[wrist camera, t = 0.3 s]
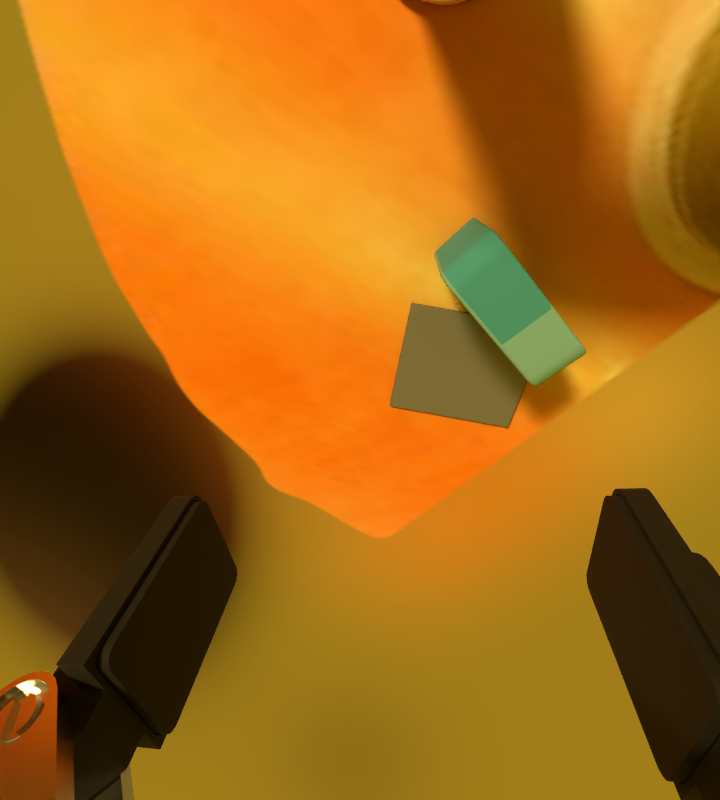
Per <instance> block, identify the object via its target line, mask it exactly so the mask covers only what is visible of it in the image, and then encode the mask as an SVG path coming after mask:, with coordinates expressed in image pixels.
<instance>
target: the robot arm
mask: <svg viewBox="0 0 720 800" xmlns="http://www.w3.org/2000/svg"><path fill="white" fill-rule="evenodd" d="M420 1H422V2H427V3H431V4H436V5H450V4H457V3H461V2H464V1H468V0H420ZM236 578H237V569H236V566H235V564H234V561H233V559H232V557H231V555H230V552H229V550H228V548H227V546H226V544H225V541H224V539H223V537H222V535H221V533H220V530H219V528H218V526H217V524H216V522H215V519H214V517H213V515H212V513H211V510H210V508H209V506H208V504H207V503H206V502H204V501H202V499H201V498H200V497H199V496H175V497H173V498H172V499H171V500H170V501H169V503H168V504H167V506H166V507H165V509H164V510H163V511H162V513H161V514H160V516H159V517H158V519H157V520H156V522H155V523H154V524H153V526H152V527H151V529H150V530H149V532H148V533H147V534H146V536H145V537H144V539H143V540H142V542H141V543H140V545H139V546H138V547H137V549H136V550H135V552H134V553H133V555H132V556H131V557H130V559H129V560H128V562H127V563H126V565H125V566H124V568H123V569H122V570H121V572H120V573H119V575H118V576H117V578H116V579H115V580H114V582H113V583H112V585H111V586H110V588H109V589H108V591H107V592H106V594H105V595H104V596H103V598H102V599H101V601H100V602H99V604H98V605H97V606H96V608H95V609H94V611H93V612H92V614H91V615H90V617H89V618H88V619H87V621H86V622H85V624H84V625H83V626H82V628H81V630H80V631H79V632H78V634H77V635H76V637H75V638H74V639H73V641H72V642H71V644H70V645H69V647H68V648H67V650H66V651H65V652H64V654H63V655H62V657H61V658H60V660H59V661H58V663H57V665H58V668H57V670H56V671H55V673H54V674H53V675H52V674H51V673H50V672H44V671H38V672H32V673H28V674H26V675H24V676H22V677H20V678H17V679H16V680H14V681H13V682H11V683H10V684H8V685H7V686H5V687H4V688H2V689H1V691H0V800H134V795H133V786H132V777H131V769H130V761H131V759H132V757H133V754H134V752H135V750H136V748H137V747H143V748H153V749H161V746H162V744H163V742H164V739H165V737H166V735H167V734H169V733H171V732H172V731H173V729H174V728H175V726H176V724H177V722H178V720H179V717H180V715H181V713H182V710H183V708H184V705H185V703H186V701H187V698H188V696H189V693H190V691H191V688H192V686H193V684H194V681H195V679H196V676H197V674H198V672H199V669H200V667H201V664H202V662H203V659H204V657H205V655H206V652H207V650H208V648H209V645H210V643H211V640H212V637H213V636H214V633H215V631H216V628H217V626H218V623H219V621H220V618H221V616H222V614H223V611H224V609H225V607H226V604H227V602H228V599H229V597H230V595H231V592H232V590H233V587H234V585H235V582H236ZM587 584H588V588H589V591H590V594H591V596H592V599H593V602H594V604H595V607H596V609H597V612H598V614H599V617H600V620H601V622H602V625H603V627H604V630H605V632H606V635H607V638H608V640H609V642H610V645H611V648H612V650H613V653H614V656H615V658H616V661H617V663H618V666H619V668H620V671H621V674H622V676H623V679H624V681H625V684H626V687H627V689H628V692H629V694H630V697H631V699H632V702H633V704H634V707H635V709H636V712H637V715H638V717H639V720H640V723H641V725H642V727H643V730H644V733H645V735H646V738H647V740H648V743H649V745H650V748H651V751H652V753H653V756H654V759H655V761H656V764H657V766H658V768H659V770H660V772H661V774H662V776H663V777H664V778H665V779H666V780H667V781H672V782H674V784H675V787H676V789H677V792H678V794H679V796H680V799H681V800H720V576H719V575H718V573H717V572H716V571H715V569H714V568H713V566H712V565H711V564H710V563H709V562H708V560H707V559H706V558H704V557H703V556H702V555H700V554H698V553H692V552H691V550H690V549H689V547H688V546H687V544H686V543H685V541H684V540H683V539H682V537H681V536H680V534H679V533H678V531H677V530H676V528H675V527H674V525H673V524H672V522H671V521H670V519H669V518H668V516H667V515H666V513H665V512H664V510H663V509H662V508H661V506H660V505H659V503H658V502H657V500H656V499H655V497H654V496H653V495H652V493H651V492H650V491H649V490H648V489H646V488H640V489H639V488H638V489H615V490H614V491H613V494H612V496H606V497H605V498H604V502H603V506H602V510H601V514H600V519H599V523H598V527H597V532H596V536H595V540H594V544H593V549H592V553H591V557H590V562H589V566H588V570H587Z"/></svg>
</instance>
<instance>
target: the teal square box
mask: <svg viewBox="0 0 720 800" xmlns="http://www.w3.org/2000/svg"><path fill="white" fill-rule="evenodd" d="M435 258H436V262H437V265H438V268H439V272H440V275H441V277H442V279H443V281H444V282H445V283H446V285H447V286H448V287H449V289H450V290H451V291H452V293H453V294H454V295H455V296H456V297H457V298H458V300H459V301H460V302H461V303H462V304H463V306H464V307H465V308H466V309H467V310H468V311H469V313H470V314H471V315H472V316H473V317H474V319H475V320H476V321H477V322H478V323H479V324H480V326H481V327H482V328H483V329H484V330H485V332H486V333H487V334H488V335H489V336H490V337H491V339H492V340H493V341H494V342H495V343H496V345H497V346H498V347H499V348H500V349H501V350H502V352H503V353H504V354H505V355H506V356H507V358H508V359H509V360H510V361H511V362H512V363H513V365H514V366H515V367H516V368H517V369H518V371H519V372H520V373H521V374H522V375H523V376H524V378H525V379H526V380H527V381H528V382H529V383H530V384H531V385H532V386H538V385H539V384H541V383H542V382H544V381H545V380H547V379H548V378H550V377H551V376H553V375H554V374H556V373H557V372H559V371H560V370H562V369H563V368H565V367H566V366H568V365H569V364H571V363H572V362H574V361H575V360H577V359H579V358H580V357H582V356H583V355H584V354H585V353H586V350H585V348H584V347H583V345H582V344H581V342H580V341H579V340H578V338H577V337H576V336H575V335H574V333H573V332H572V331H571V329H570V328H569V327H568V325H567V324H566V323H565V321H564V320H563V319H562V318H561V316H560V315H559V314H558V312H557V311H556V310H555V308H554V307H553V306H552V304H551V303H550V302H549V301H548V299H547V298H546V297H545V295H544V294H543V293H542V291H541V290H540V289H539V287H538V286H537V285H536V283H535V282H534V281H533V280H532V278H531V277H530V276H529V274H528V273H527V272H526V270H525V269H524V268H523V266H522V265H521V264H520V263H519V261H518V260H517V259H516V257H515V256H514V255H513V253H512V252H511V251H510V249H509V248H508V247H507V246H506V244H505V243H504V242H503V241H502V239H501V238H500V237H499V236H498V235H497V234H496V233H495V232H494V231H493V230H492V229H490V228H489V227H487V226H486V225H484V224H483V223H481V222H480V221H478V220H477V219H475V218H472V219H471V220H470V221H469V222H468V223H466V224H465V225H464V226H463V227H462V228H461V229H460V230H459V231H458V232H457V233H455V234H454V235H453V236H452V237H451V238H450V239H449V240H448V241H447V242H446V243H444V244H443V245H442V246H441V247H440V248H439V249H438V250H437V251H436V252H435Z"/></svg>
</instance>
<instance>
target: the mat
mask: <svg viewBox="0 0 720 800" xmlns="http://www.w3.org/2000/svg"><path fill="white" fill-rule="evenodd" d="M526 382H527V380H526V379H525V378H524V376H523V375H522V374H521V373H520V372H519V371H518V369H517V368H516V367H515V366H514V365H513V363H512V362H511V361H510V360H509V359H508V358H507V356H506V355H505V354H504V353H503V352H502V350H501V349H500V348H499V347H498V346H497V345H496V343H495V342H494V341H493V340H492V339H491V337H490V336H489V335H488V334H487V333H486V332H485V330H484V329H483V328H482V327H481V326H480V324H479V323H478V322H477V321H476V320H475V319H474V317H473V316H472V315H471V314H470V313H466V312H461V311H455V310H449V309H443V308H438V307H432V306H426V305H421V304H415V303H411V308H410V313H409V317H408V322H407V327H406V331H405V336H404V341H403V345H402V350H401V355H400V359H399V364H398V369H397V373H396V378H395V383H394V387H393V392H392V397H391V401H390V406H392V407H398V408H403V409H409V410H414V411H420V412H425V413H431V414H436V415H442V416H447V417H453V418H458V419H464V420H469V421H475V422H480V423H486V424H491V425H497V426H502V427H508V425H509V423H510V421H511V418H512V416H513V413H514V411H515V409H516V406H517V404H518V401H519V399H520V397H521V394H522V392H523V389H524V387H525V385H526Z"/></svg>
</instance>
